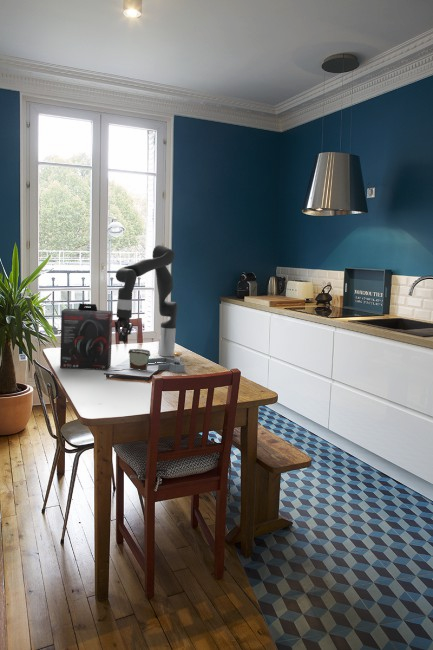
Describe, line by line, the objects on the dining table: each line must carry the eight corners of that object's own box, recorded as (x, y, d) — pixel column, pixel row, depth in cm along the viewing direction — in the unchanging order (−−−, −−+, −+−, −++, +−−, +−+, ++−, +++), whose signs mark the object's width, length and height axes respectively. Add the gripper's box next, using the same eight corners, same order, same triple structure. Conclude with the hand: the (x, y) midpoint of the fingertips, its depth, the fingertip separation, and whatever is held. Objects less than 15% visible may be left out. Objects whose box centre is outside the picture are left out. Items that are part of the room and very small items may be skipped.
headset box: (58, 368, 255) (60, 303, 251) (63, 363, 267) (66, 301, 264) (107, 370, 257) (111, 306, 254) (110, 365, 270) (113, 304, 266)
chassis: (141, 364, 278) (141, 357, 277) (165, 362, 289) (165, 355, 289) (168, 373, 261) (169, 366, 260) (192, 370, 272) (193, 363, 272)
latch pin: (171, 363, 268) (171, 352, 267) (177, 362, 271) (178, 352, 270) (176, 364, 265) (177, 354, 264) (182, 364, 268) (183, 353, 267)
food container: (153, 369, 269) (154, 350, 268) (148, 371, 263) (149, 352, 262) (133, 366, 273) (134, 348, 272) (127, 368, 267) (128, 349, 266)
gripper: (110, 306, 258) (109, 340, 260) (126, 309, 248) (124, 344, 250) (123, 306, 263) (121, 339, 265) (138, 309, 253) (136, 343, 255)
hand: (122, 341), depth 258 cm, fingers open, 3 cm apart
